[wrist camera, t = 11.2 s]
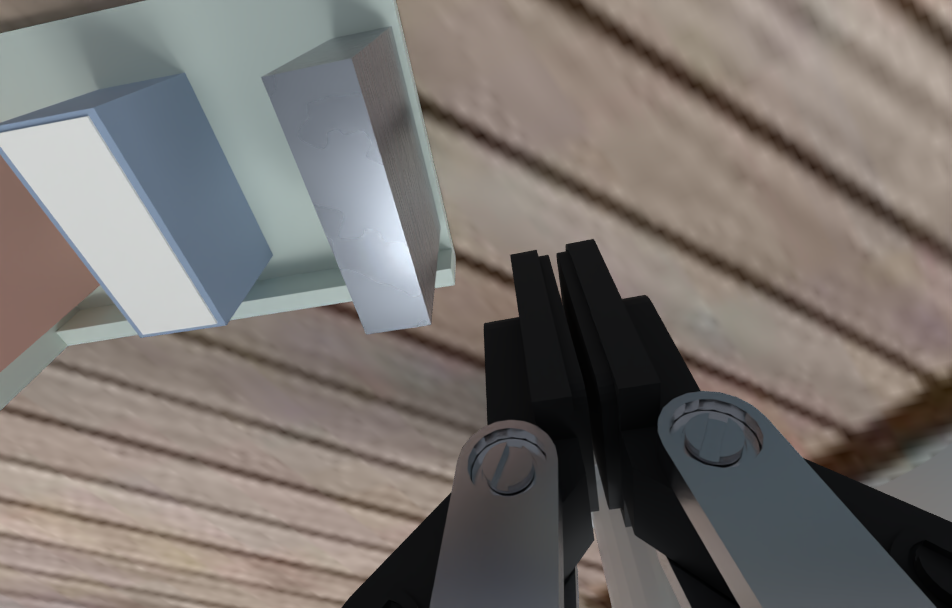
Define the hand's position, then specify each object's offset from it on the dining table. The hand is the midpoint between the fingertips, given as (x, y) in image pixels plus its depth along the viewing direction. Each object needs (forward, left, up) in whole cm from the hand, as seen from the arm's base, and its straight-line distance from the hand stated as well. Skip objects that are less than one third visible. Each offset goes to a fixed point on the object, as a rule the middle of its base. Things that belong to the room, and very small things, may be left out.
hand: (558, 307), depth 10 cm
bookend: (+5, 0, -14) cm, 15 cm away
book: (+15, 0, -14) cm, 21 cm away
